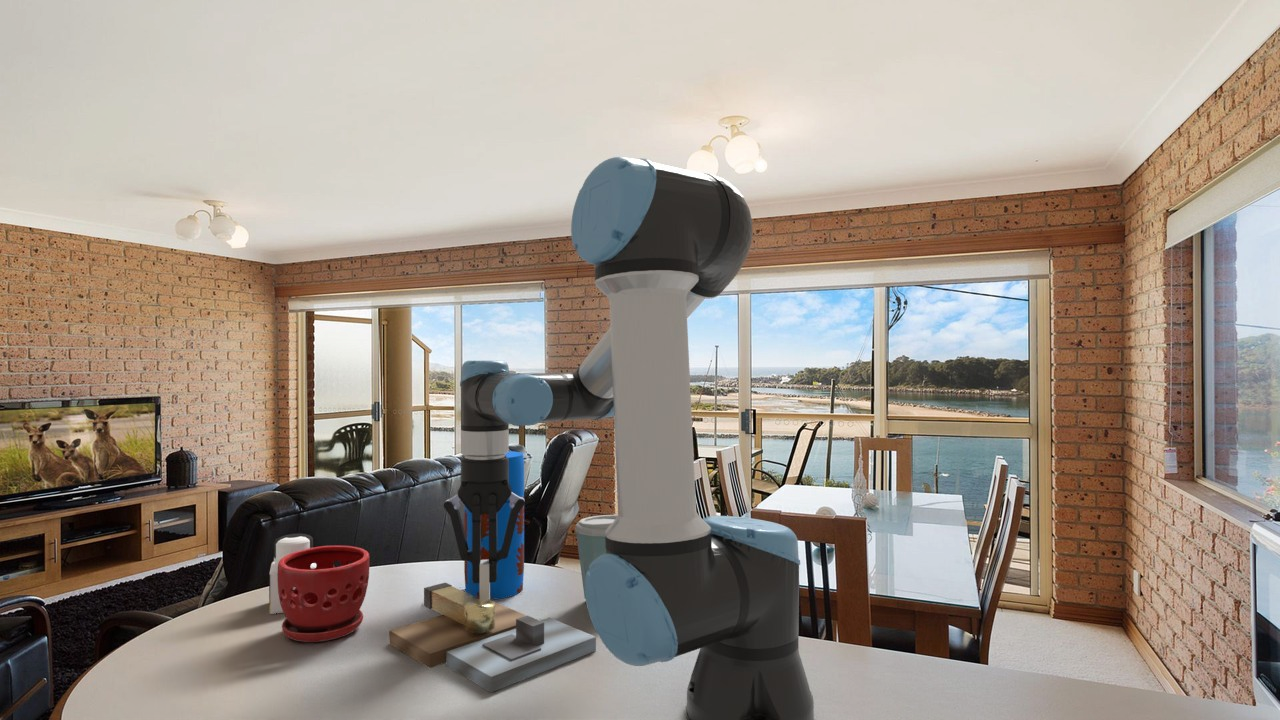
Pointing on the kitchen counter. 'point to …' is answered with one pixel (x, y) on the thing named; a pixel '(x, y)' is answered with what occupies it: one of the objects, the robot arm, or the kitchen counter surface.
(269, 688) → the kitchen counter surface
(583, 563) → the disposable coffee cup
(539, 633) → the door and jamb
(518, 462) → the thermos
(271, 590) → the medicine bottle
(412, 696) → the kitchen counter surface
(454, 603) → the swing bar
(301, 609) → the plant pot
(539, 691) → the kitchen counter surface
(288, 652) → the kitchen counter surface
